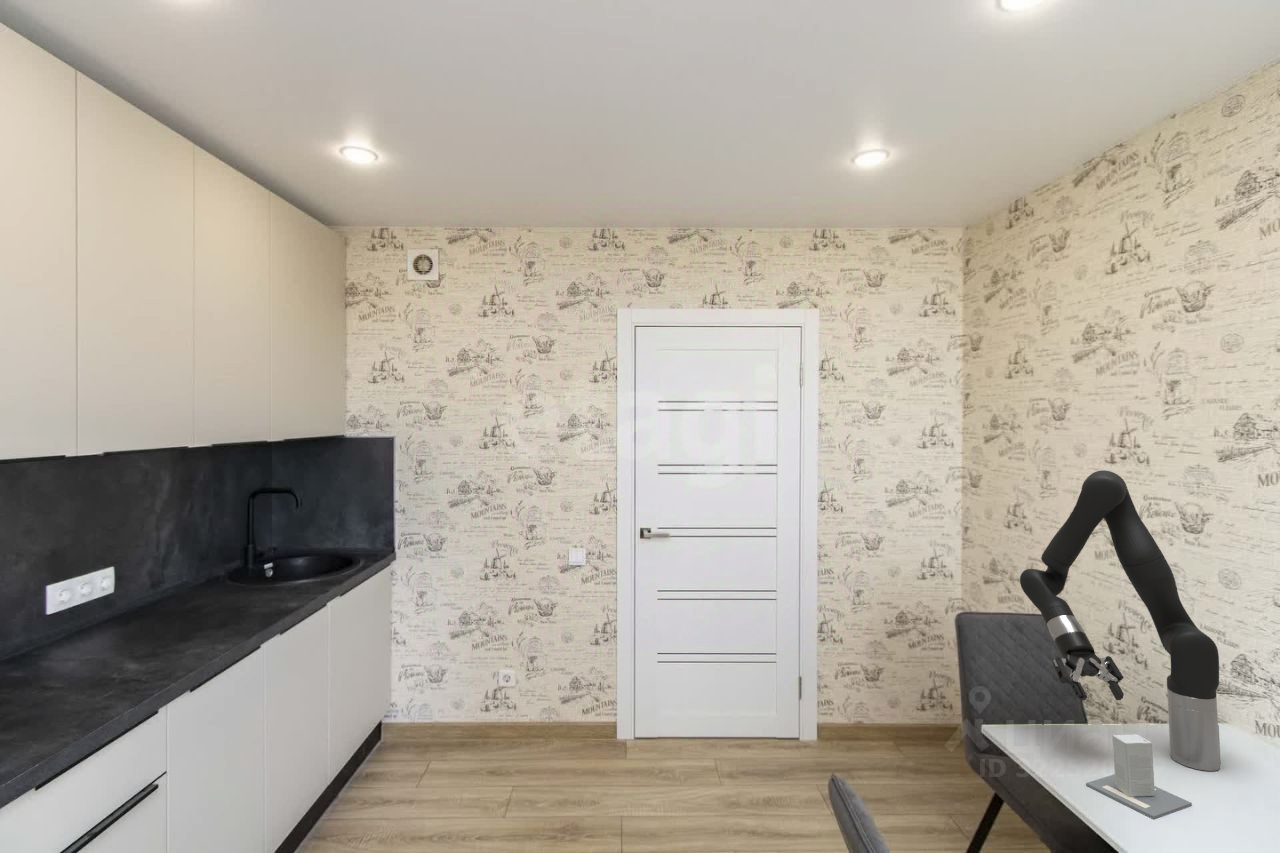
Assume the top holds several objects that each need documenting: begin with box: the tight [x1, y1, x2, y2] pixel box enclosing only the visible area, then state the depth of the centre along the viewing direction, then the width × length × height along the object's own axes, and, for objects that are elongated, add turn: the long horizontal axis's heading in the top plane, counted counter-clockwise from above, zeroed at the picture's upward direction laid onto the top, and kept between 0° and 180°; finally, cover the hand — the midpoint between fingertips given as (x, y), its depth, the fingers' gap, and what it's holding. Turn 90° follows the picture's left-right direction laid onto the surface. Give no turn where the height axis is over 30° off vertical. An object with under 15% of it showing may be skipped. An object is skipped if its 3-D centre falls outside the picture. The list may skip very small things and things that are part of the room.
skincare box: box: [1112, 733, 1155, 797], centre depth 140 cm, size 6×4×12 cm
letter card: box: [1085, 773, 1193, 820], centre depth 139 cm, size 13×14×1 cm
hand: (1102, 699), depth 150 cm, fingers open, 8 cm apart
